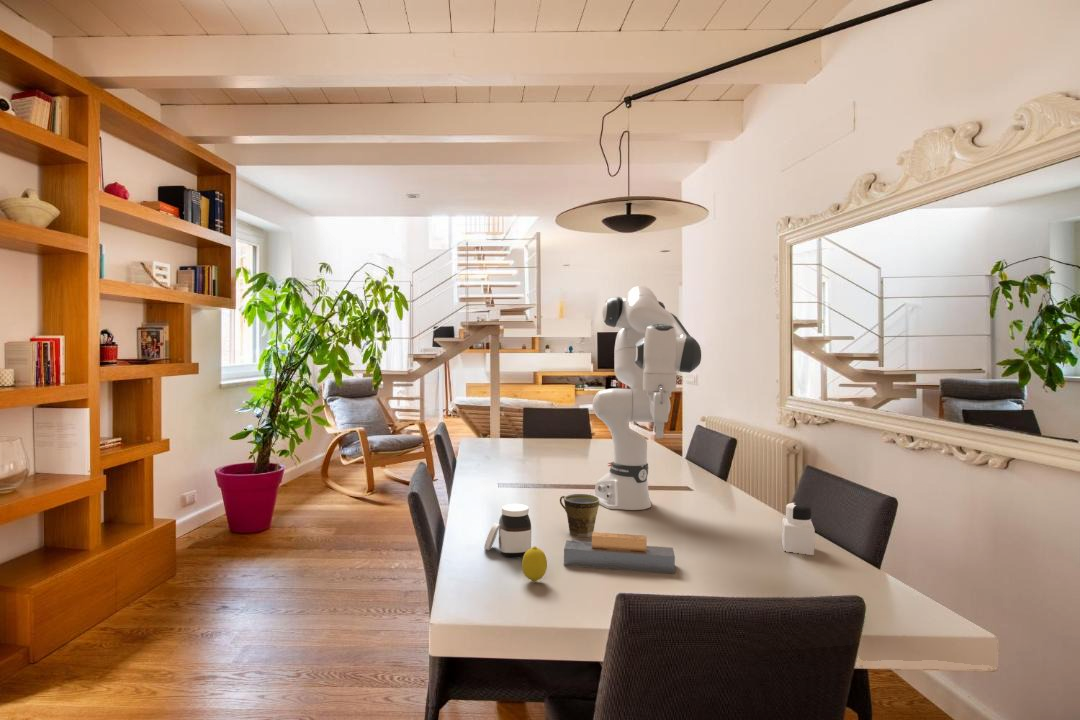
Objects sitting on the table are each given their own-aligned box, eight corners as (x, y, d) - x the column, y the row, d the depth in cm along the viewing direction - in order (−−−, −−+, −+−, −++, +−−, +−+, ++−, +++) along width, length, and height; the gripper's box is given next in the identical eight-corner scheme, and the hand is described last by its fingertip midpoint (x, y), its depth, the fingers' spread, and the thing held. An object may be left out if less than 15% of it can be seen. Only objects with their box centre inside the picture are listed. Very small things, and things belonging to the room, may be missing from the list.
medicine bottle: (810, 546, 151) (811, 502, 151) (814, 556, 145) (815, 509, 144) (781, 543, 154) (783, 499, 154) (784, 552, 147) (785, 506, 147)
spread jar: (534, 558, 140) (535, 512, 139) (489, 563, 136) (490, 515, 136) (522, 542, 151) (522, 499, 151) (480, 546, 148) (481, 502, 148)
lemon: (521, 577, 128) (521, 542, 128) (545, 577, 129) (545, 542, 128) (522, 587, 123) (523, 551, 122) (547, 587, 123) (548, 550, 123)
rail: (563, 565, 136) (564, 548, 136) (566, 556, 142) (566, 540, 142) (674, 573, 132) (674, 556, 132) (672, 563, 138) (672, 547, 138)
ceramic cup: (605, 533, 159) (606, 498, 159) (583, 542, 152) (584, 505, 152) (570, 523, 168) (571, 490, 168) (548, 530, 161) (548, 496, 161)
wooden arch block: (591, 564, 136) (591, 535, 136) (592, 560, 139) (592, 532, 139) (646, 568, 134) (646, 539, 134) (645, 564, 137) (646, 535, 137)
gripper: (674, 386, 142) (673, 441, 142) (668, 382, 162) (667, 430, 162) (649, 386, 143) (648, 440, 143) (646, 381, 163) (645, 429, 163)
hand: (658, 435), depth 153 cm, fingers open, 8 cm apart
